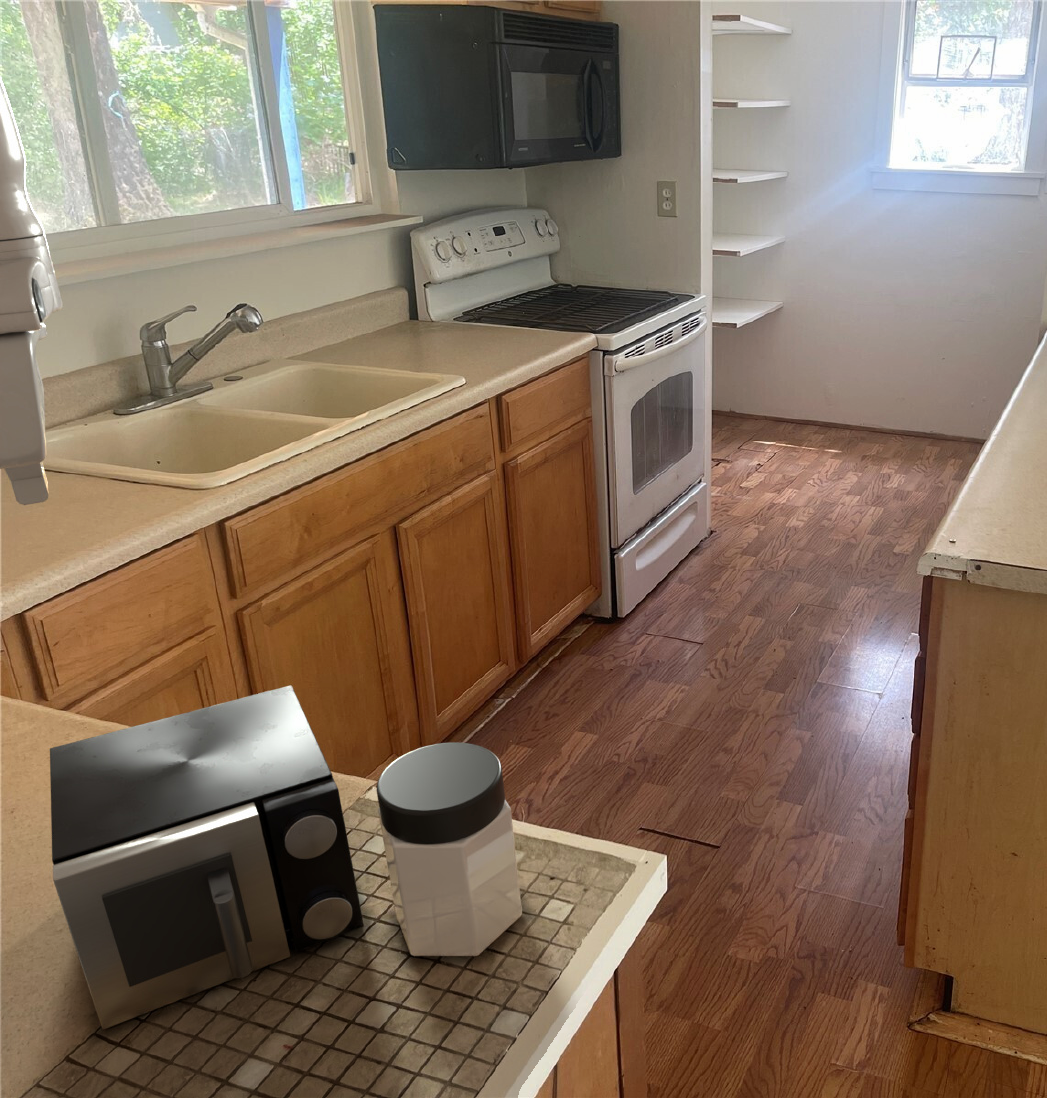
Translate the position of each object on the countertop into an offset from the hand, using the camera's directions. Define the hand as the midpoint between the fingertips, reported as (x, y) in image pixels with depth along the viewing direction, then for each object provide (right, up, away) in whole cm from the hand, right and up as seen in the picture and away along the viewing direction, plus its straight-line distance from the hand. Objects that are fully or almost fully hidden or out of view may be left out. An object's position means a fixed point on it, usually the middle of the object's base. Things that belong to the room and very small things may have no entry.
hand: (34, 497), depth 69 cm
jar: (+27, -30, +4) cm, 41 cm away
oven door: (+13, -33, -3) cm, 35 cm away
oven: (+10, -29, +5) cm, 32 cm away
